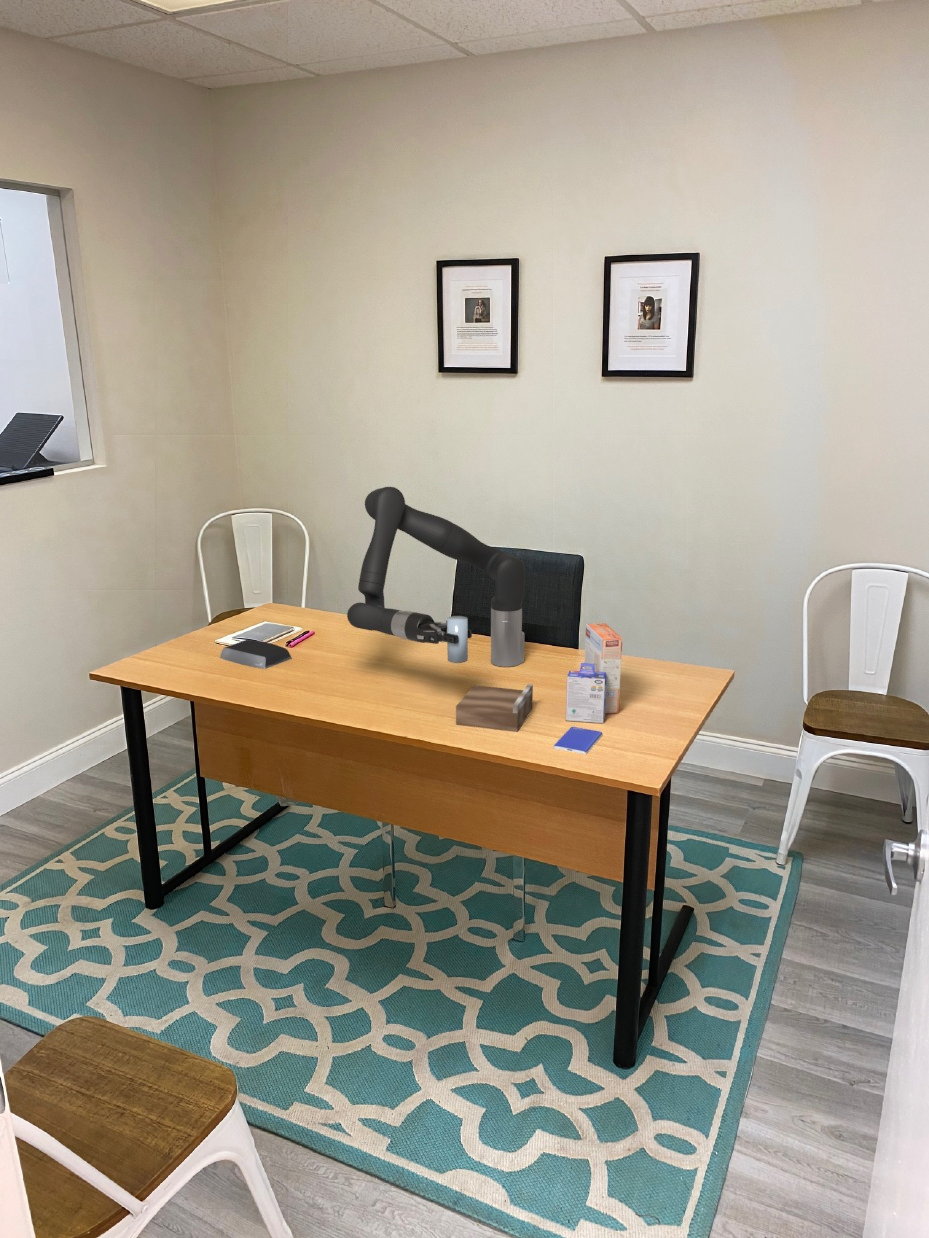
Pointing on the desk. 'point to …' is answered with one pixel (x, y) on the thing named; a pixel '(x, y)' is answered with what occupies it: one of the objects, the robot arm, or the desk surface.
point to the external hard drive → (255, 654)
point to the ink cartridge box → (586, 695)
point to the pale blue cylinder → (459, 650)
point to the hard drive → (578, 740)
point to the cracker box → (605, 659)
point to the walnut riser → (495, 707)
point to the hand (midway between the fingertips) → (464, 636)
